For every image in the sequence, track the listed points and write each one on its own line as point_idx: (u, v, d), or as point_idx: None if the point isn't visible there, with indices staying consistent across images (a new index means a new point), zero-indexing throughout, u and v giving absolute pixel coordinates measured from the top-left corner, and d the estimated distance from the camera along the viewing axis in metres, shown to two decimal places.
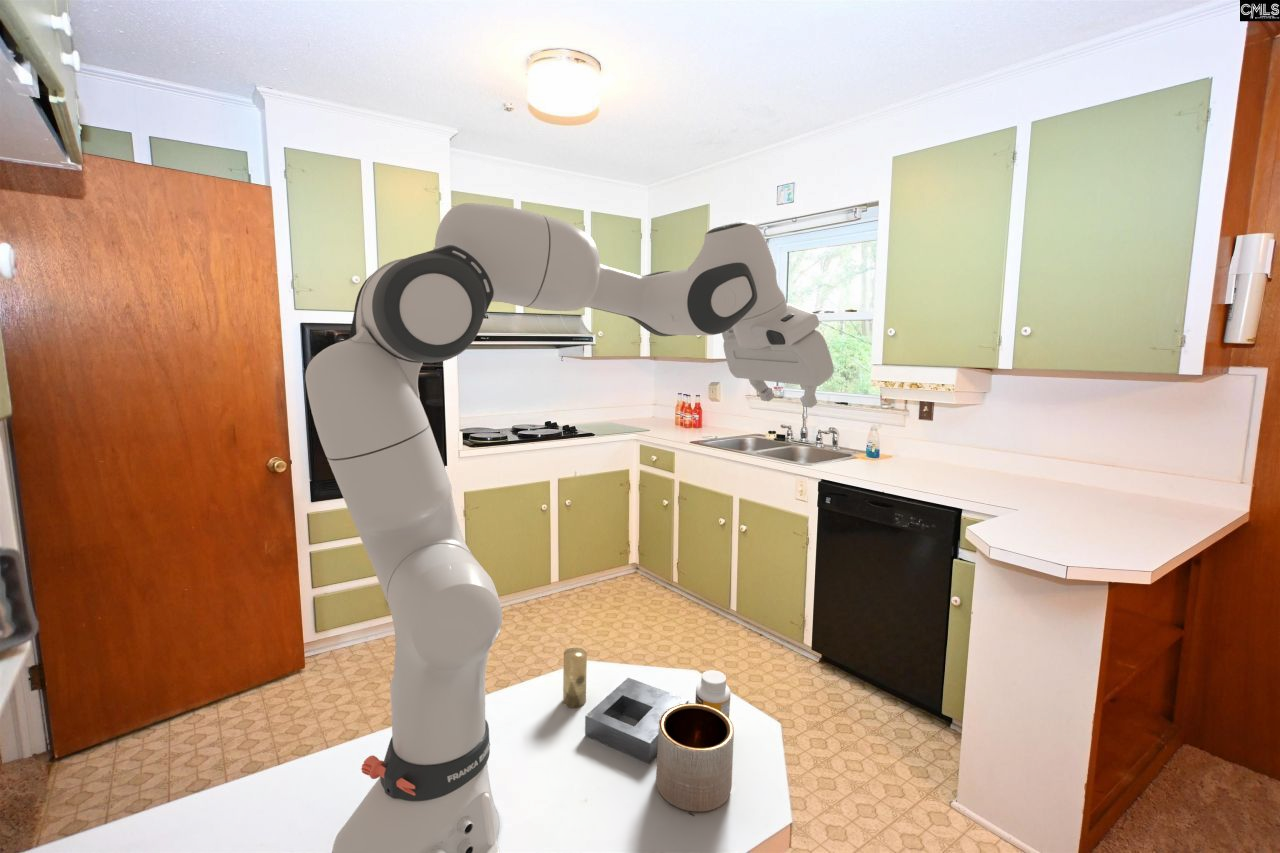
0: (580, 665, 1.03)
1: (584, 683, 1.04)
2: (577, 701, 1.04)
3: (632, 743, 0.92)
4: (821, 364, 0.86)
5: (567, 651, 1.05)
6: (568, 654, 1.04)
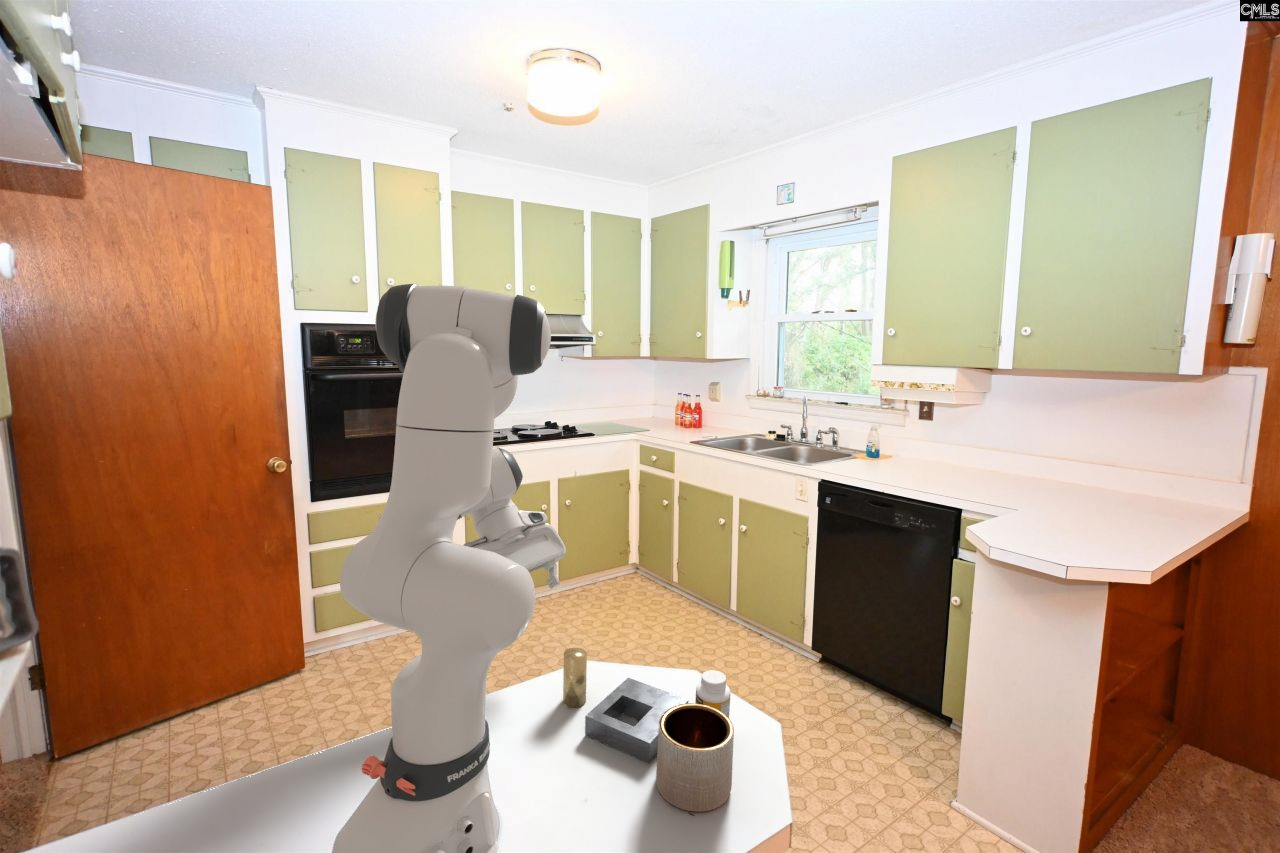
0: (580, 665, 1.03)
1: (584, 683, 1.04)
2: (577, 701, 1.04)
3: (632, 743, 0.92)
4: None
5: (567, 651, 1.05)
6: (568, 654, 1.04)
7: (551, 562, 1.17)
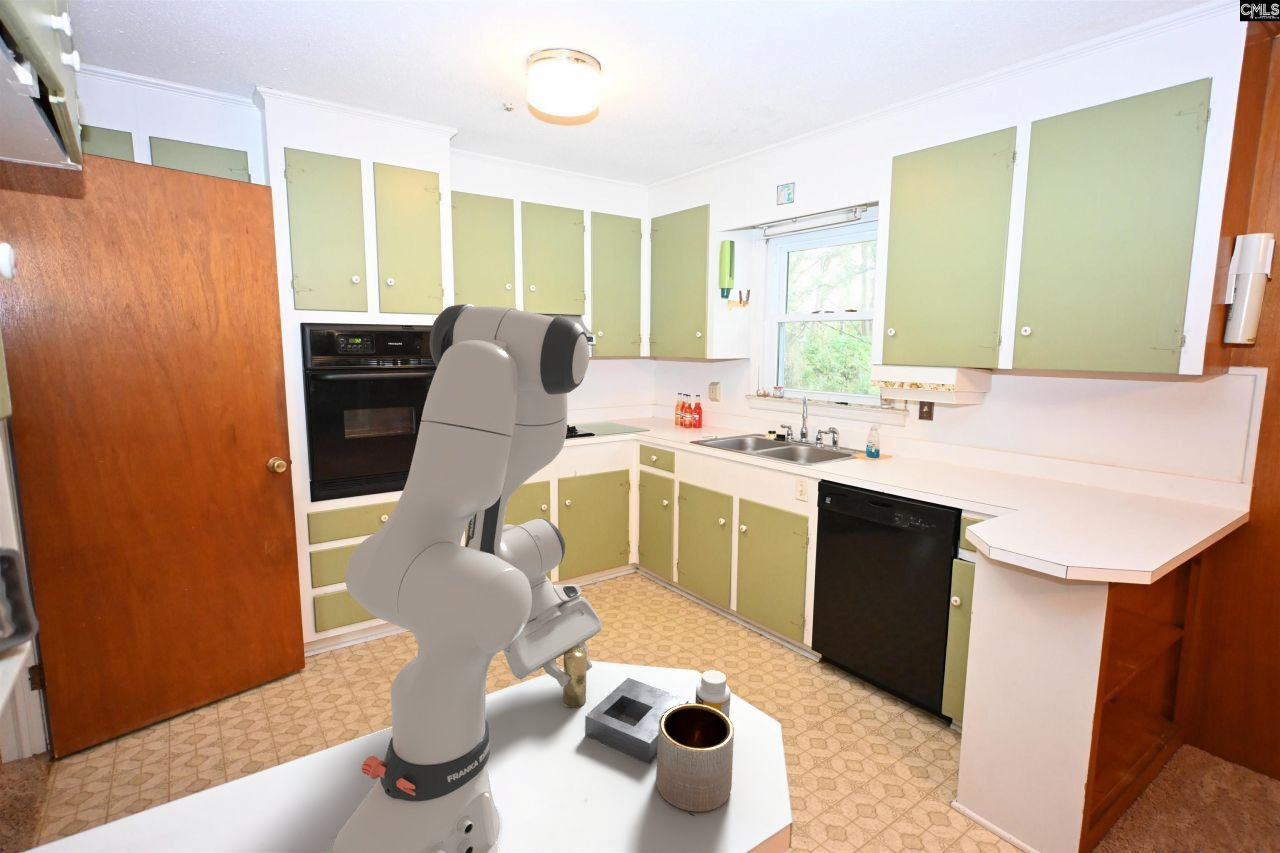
0: (580, 665, 1.03)
1: (584, 683, 1.04)
2: (577, 701, 1.04)
3: (632, 743, 0.92)
4: None
5: (567, 651, 1.05)
6: (568, 654, 1.04)
7: (581, 643, 1.09)
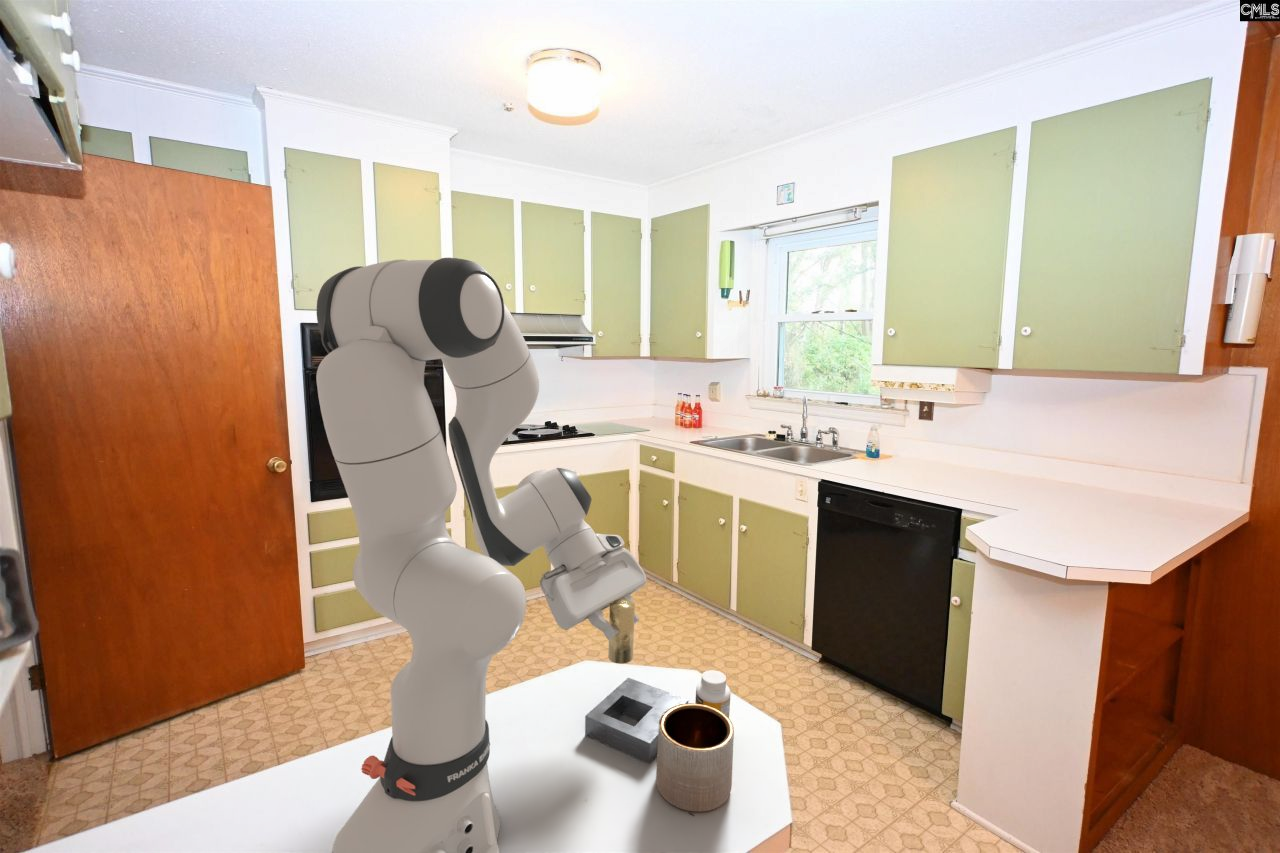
0: (629, 616, 0.95)
1: (632, 637, 0.96)
2: (624, 656, 0.96)
3: (632, 743, 0.92)
4: None
5: (613, 602, 0.97)
6: (615, 605, 0.96)
7: (627, 596, 1.00)
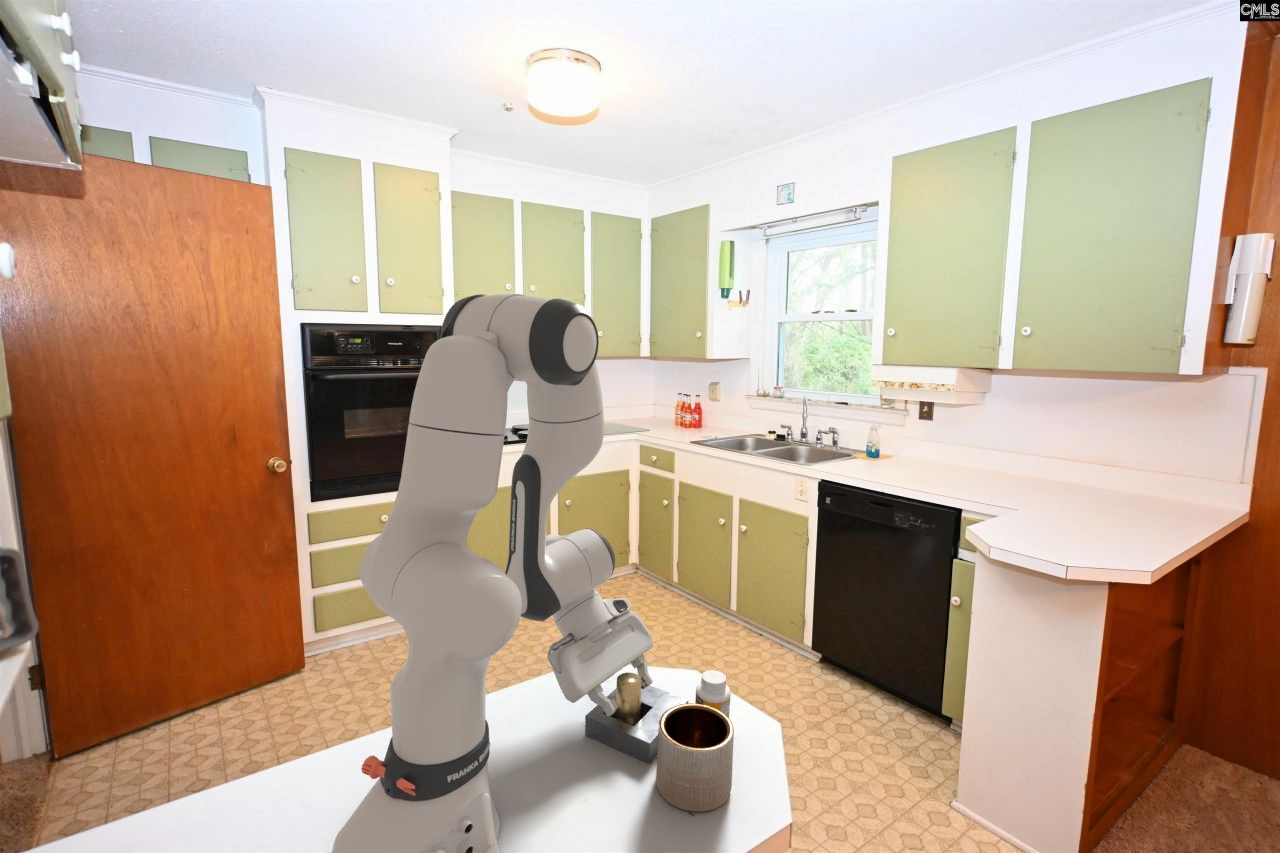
0: (635, 692, 0.96)
1: (639, 711, 0.97)
2: None
3: (632, 743, 0.92)
4: None
5: (620, 677, 0.98)
6: (622, 680, 0.97)
7: (640, 657, 1.03)
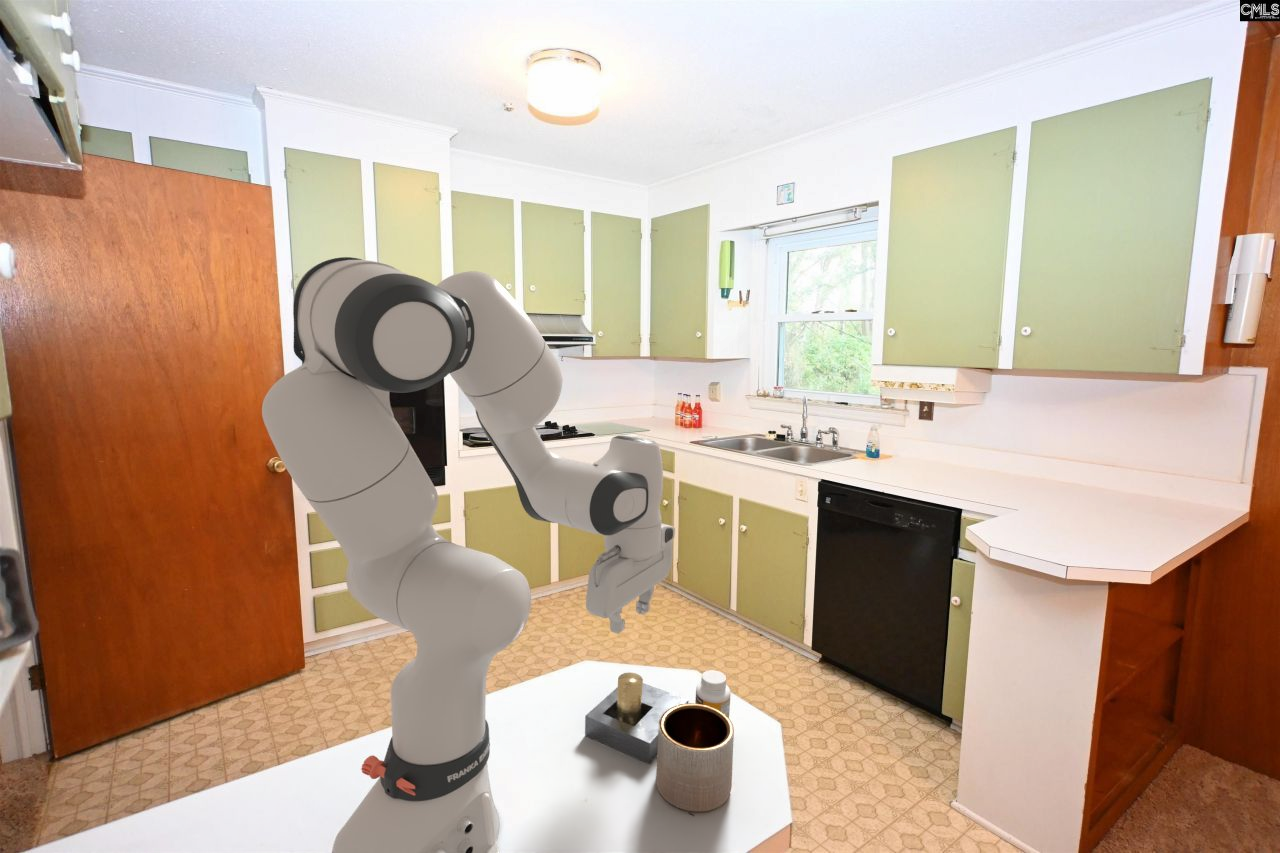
0: (637, 692, 0.96)
1: (639, 711, 0.97)
2: None
3: (632, 743, 0.92)
4: None
5: (621, 677, 0.98)
6: (623, 680, 0.97)
7: (651, 586, 0.99)
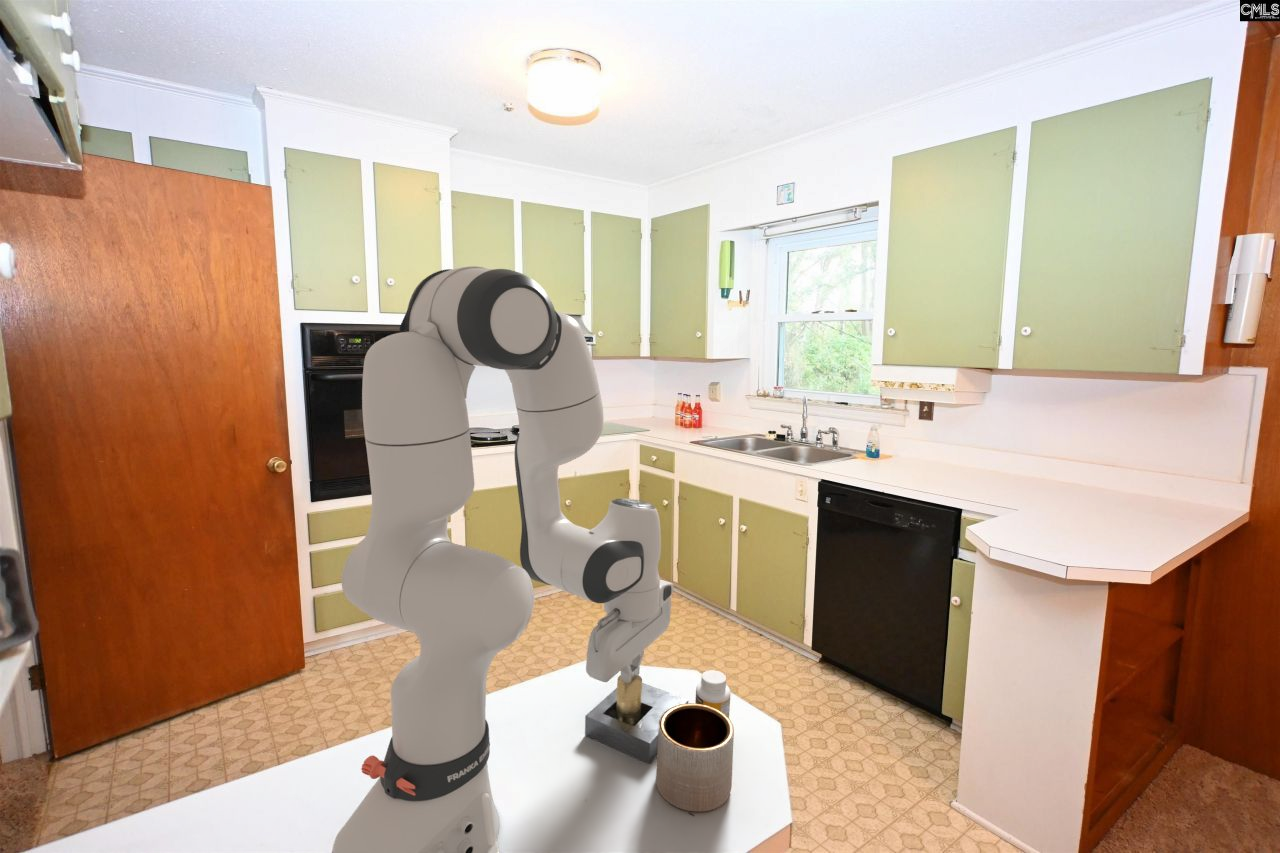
0: (637, 692, 0.96)
1: (639, 711, 0.97)
2: None
3: (632, 743, 0.92)
4: None
5: (620, 677, 0.98)
6: None
7: None
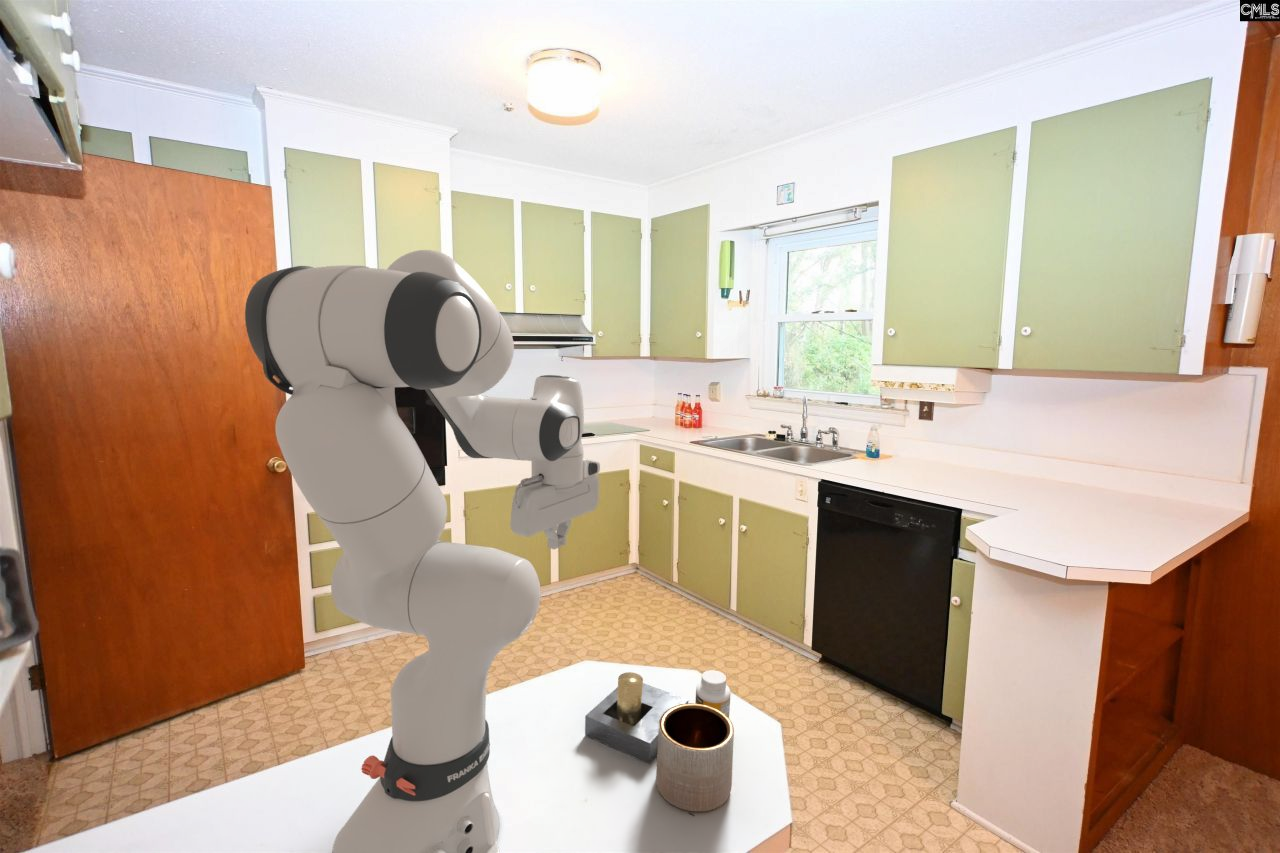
0: (638, 691, 0.96)
1: (640, 710, 0.97)
2: None
3: (632, 743, 0.92)
4: None
5: (621, 677, 0.98)
6: (623, 680, 0.97)
7: (568, 521, 1.05)
